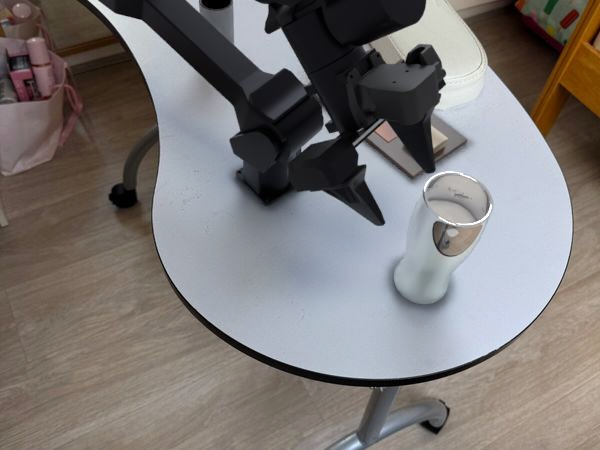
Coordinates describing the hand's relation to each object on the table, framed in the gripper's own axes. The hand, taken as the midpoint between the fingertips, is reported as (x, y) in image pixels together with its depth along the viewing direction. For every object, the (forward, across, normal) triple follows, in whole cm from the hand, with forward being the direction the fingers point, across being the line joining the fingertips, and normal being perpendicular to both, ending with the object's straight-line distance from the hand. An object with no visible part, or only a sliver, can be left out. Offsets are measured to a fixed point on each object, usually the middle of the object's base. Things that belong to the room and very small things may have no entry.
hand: (407, 197), depth 59 cm
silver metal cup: (+11, 0, +5) cm, 12 cm away
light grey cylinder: (-19, +12, +35) cm, 41 cm away
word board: (-2, +19, +17) cm, 26 cm away
